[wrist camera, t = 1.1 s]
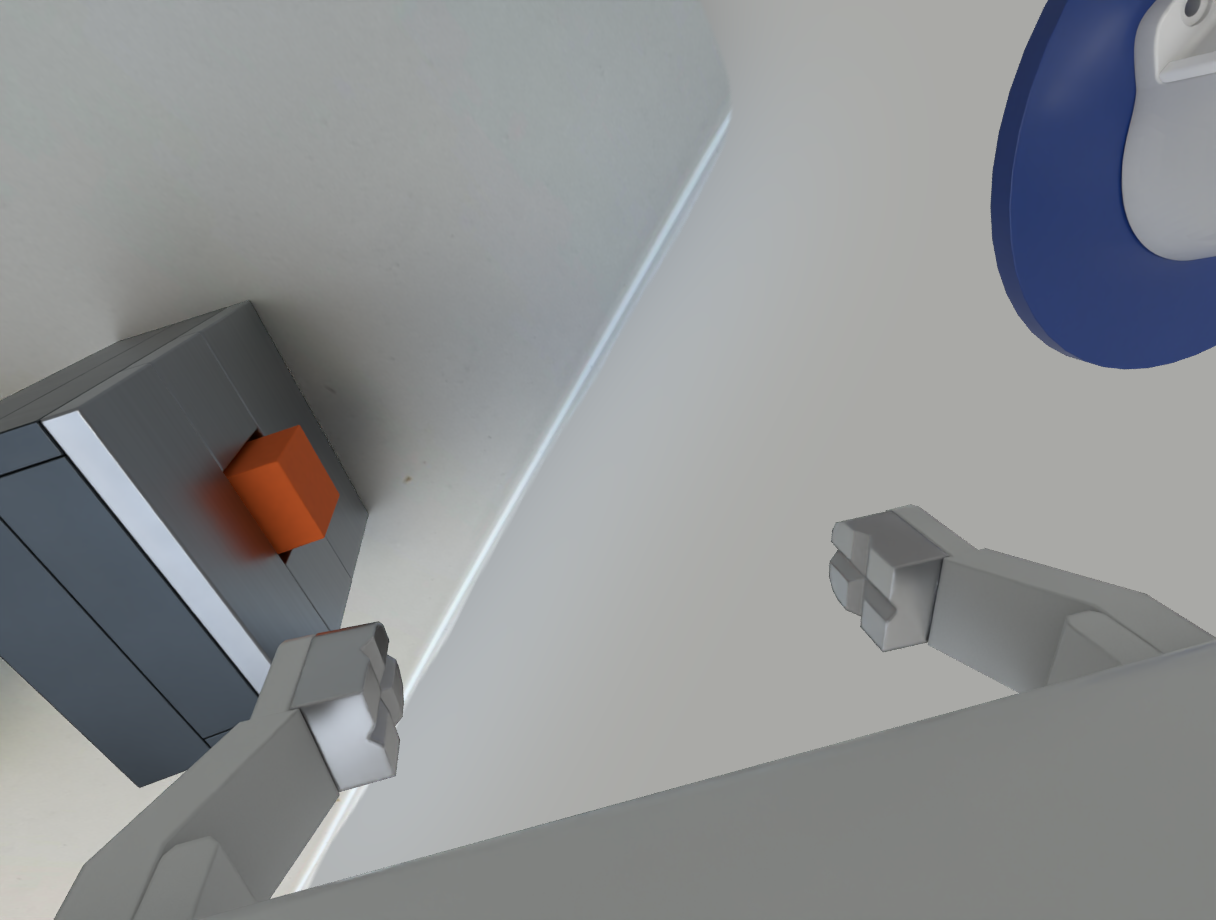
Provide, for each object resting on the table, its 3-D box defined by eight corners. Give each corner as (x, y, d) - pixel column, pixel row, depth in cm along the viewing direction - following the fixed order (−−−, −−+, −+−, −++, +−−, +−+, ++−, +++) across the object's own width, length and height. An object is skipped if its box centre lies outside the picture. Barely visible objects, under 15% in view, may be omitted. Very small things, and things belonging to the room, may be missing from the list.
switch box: (250, 299, 27) (77, 407, 15) (369, 514, 33) (316, 722, 20) (115, 342, 27) (-178, 490, 14) (260, 552, 32) (138, 789, 20)
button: (299, 423, 24) (277, 460, 21) (340, 494, 25) (324, 538, 22) (219, 450, 23) (184, 491, 20) (265, 520, 25) (239, 568, 22)
